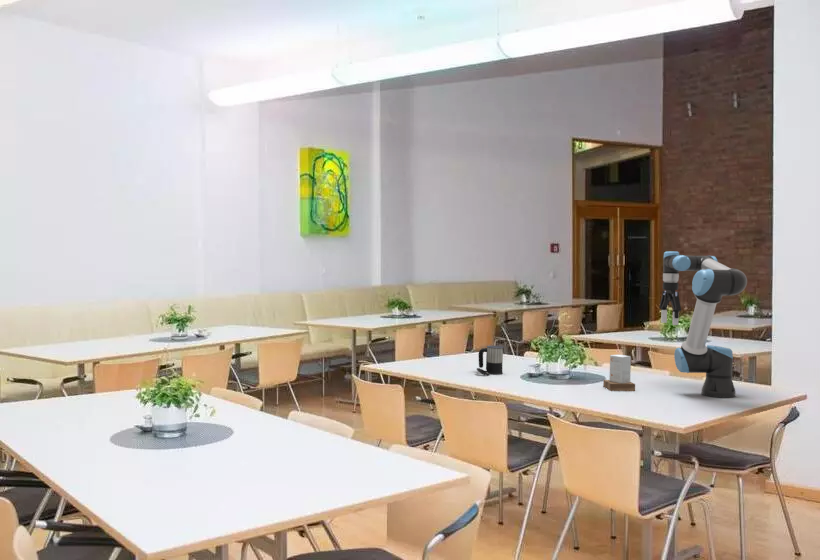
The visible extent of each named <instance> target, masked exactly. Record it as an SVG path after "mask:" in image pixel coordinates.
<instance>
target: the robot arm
mask: <svg viewBox="0 0 820 560" xmlns="http://www.w3.org/2000/svg"><path fill="white" fill-rule="evenodd" d="M662 264H663V267H662V268H663V270H662V271H663V272H662V281H663V283H662V292H661V299H660V304H659V309H660V310H661V312H660V313H661V315H660V316H661V317H660V323H661V324H663V323H665V324H667V323H668V306H669V303H670V304H671V306H672V325H673V326H678V325H679V320H680V319H679V314H680V312H681V311H682V307H681V302H680V296H679V295H680V294H679V292H678V291H677V290H679V278H680V275H679V274H680V273H679V272H687V271H688V272H689V271H690V272H696V273H695V274H694V275H693V278H692V282H691V285H692V286H691V289H692V293H693V295H694V297H695V298H696V302H695V306H694V310H693V313H692V318H691V321H690V325H689V328H688V334H687V337H686V340H684V341H683V342H682V343H681V347H677V348H675V350H674V357H673V358H674V363H675V367H676V369H677V370H678V371H679V372H680V373H683V374H684V373H687V374H689V373H691V374H692V373H693V374H694V373H695V374H703V373H704V374H705V379H704V382H703V385H702V387H701V395H702V396H703V395H704V396H706V395H707V397H713V398H735V397H736V395H737V393H736V388H735V386H734V382H733V362H734V361H733V359H734V356H733V350H732V349H731V348H729V347H725V346H724V347H723V346H718V345H713V344H707V341H708V338H709V337H708V336H709V333H710V330H711V325H712V322H713V318H714V314H715V311H716V307H717V304H719V303H721V301H722V298H723V296H724V297H725V296H736V295H739V294H740V293H742V292H743V291H745V289H746V288H747V284H748V278H747V276H746V274H745V273H744V271H742V270H740V269H738V268H730V267H728V266H727V265H725V264H723V263H721V262H719V261H718V259H717V257H716V256H715V255H683V254H680V252H679V251H665V252H663V263H662ZM706 344H707V346H706Z"/></svg>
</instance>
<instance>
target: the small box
mask: <svg viewBox="0 0 820 560" xmlns="http://www.w3.org/2000/svg"><path fill="white" fill-rule="evenodd" d="M631 359H632V356H631V355H625V354H610V355H609V379H608V380H609V381H612V382H617V383H630V382H631V368H632V367H631V364H632V362H631Z"/></svg>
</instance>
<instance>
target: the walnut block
mask: <svg viewBox="0 0 820 560" xmlns="http://www.w3.org/2000/svg"><path fill="white" fill-rule="evenodd" d="M609 380H610V379H603V381H602V382H603V383H602V384H603V385H602V386H603V388H604V387H605V389H606V388H607V390H608V391H610V392H636V383H633V382H632V381H630V383H617V382H612V381H609Z"/></svg>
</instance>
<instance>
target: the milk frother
mask: <svg viewBox="0 0 820 560" xmlns="http://www.w3.org/2000/svg"><path fill="white" fill-rule="evenodd" d="M484 353H486V357H485V358H486V360H485V361H486V362H485V370H484V369H483V367H484ZM503 357H504V346H501V345H487V346H486V347H483V348H481V349H479V351H478V367H476V371H477V372H479V373H481V374H482V375H483V376H485V375H486V376H490V375H503V374H504V373H503V359H504V358H503Z"/></svg>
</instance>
